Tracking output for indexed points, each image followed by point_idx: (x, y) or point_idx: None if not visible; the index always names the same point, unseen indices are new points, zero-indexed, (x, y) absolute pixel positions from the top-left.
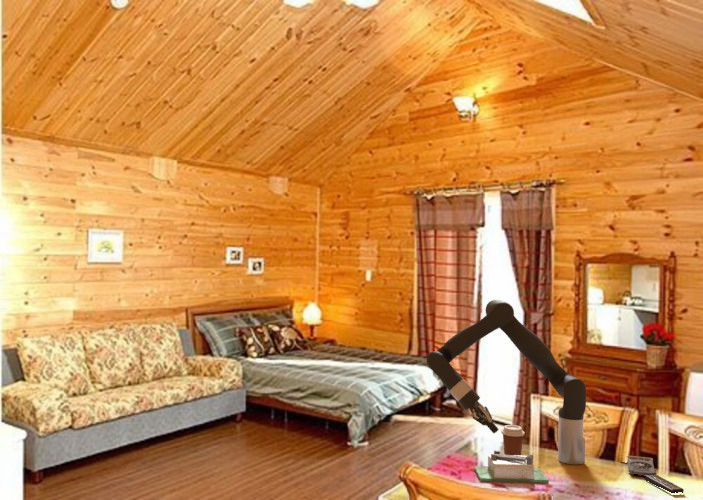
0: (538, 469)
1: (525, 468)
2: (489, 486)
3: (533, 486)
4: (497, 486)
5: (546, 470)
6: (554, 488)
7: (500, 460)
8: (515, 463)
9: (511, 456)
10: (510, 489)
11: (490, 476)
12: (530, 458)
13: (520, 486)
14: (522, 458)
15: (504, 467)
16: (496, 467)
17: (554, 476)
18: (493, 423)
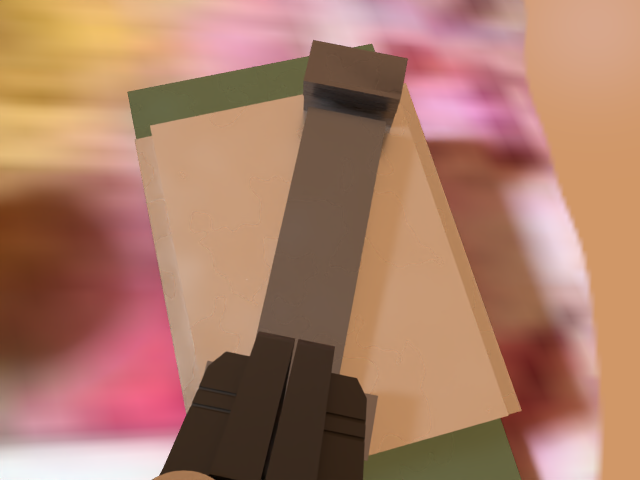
0: (170, 93)
1: (425, 149)
2: (599, 450)
3: (462, 146)
4: (571, 387)
5: (108, 56)
6: (445, 32)
7: (378, 355)
8: (415, 216)
9: (319, 242)
10: (587, 292)
11: (461, 452)
12: (405, 67)
13: (498, 227)
14: (365, 142)
15: (487, 318)
16: (512, 392)
17: (220, 18)
18: (251, 432)
